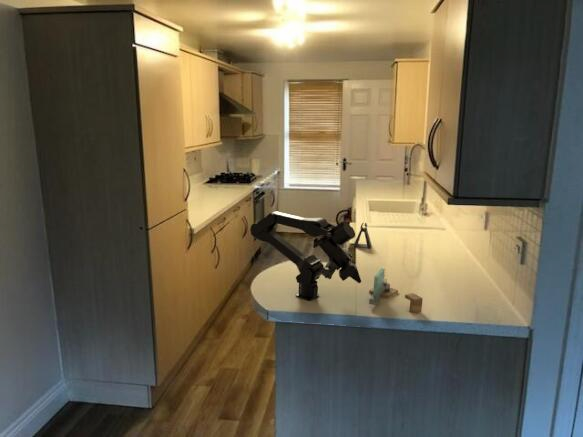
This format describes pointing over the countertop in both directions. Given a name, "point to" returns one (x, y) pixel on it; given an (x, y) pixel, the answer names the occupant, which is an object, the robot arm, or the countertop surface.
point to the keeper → (414, 303)
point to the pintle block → (387, 293)
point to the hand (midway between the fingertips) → (360, 282)
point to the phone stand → (365, 237)
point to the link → (379, 287)
